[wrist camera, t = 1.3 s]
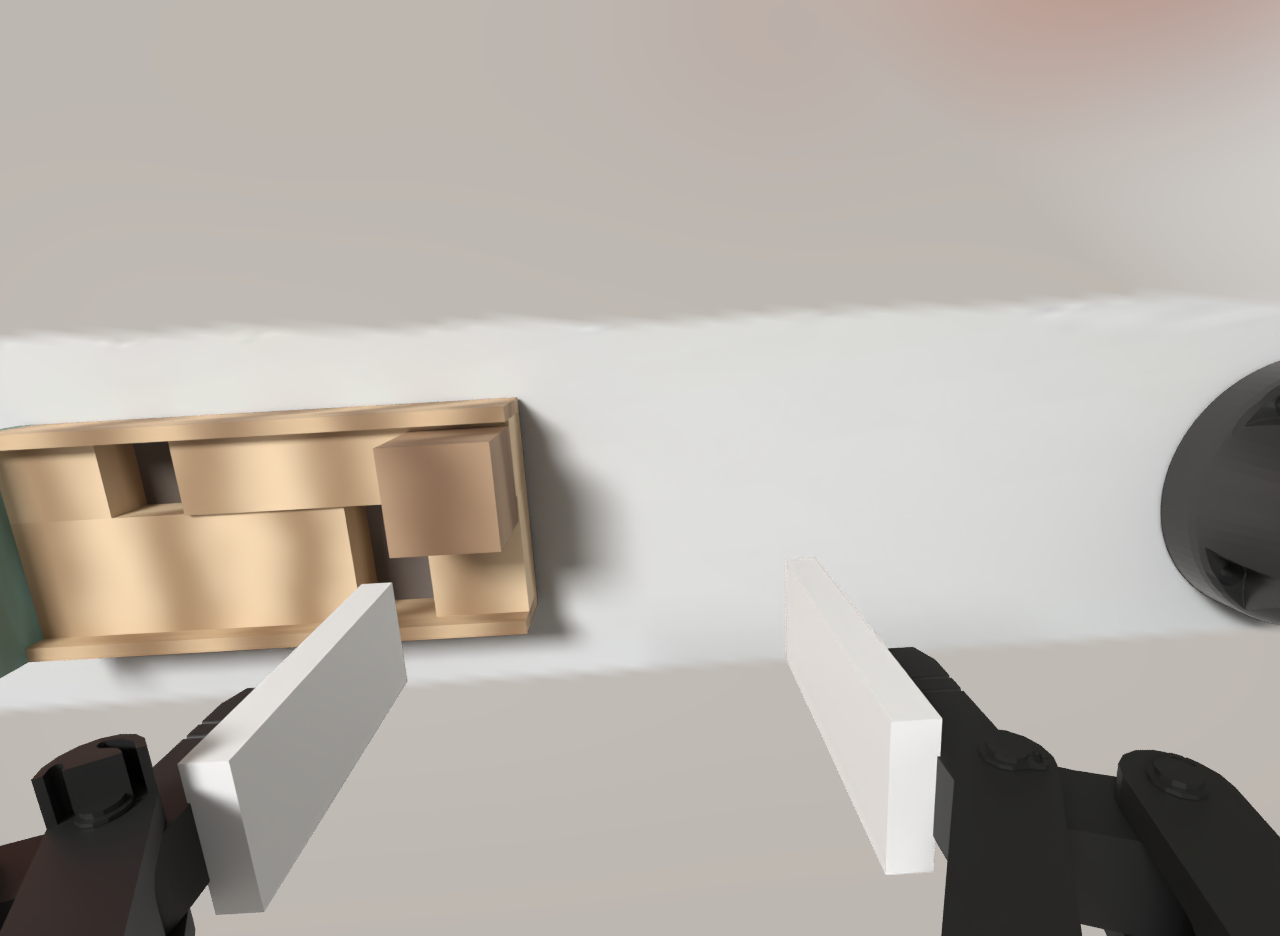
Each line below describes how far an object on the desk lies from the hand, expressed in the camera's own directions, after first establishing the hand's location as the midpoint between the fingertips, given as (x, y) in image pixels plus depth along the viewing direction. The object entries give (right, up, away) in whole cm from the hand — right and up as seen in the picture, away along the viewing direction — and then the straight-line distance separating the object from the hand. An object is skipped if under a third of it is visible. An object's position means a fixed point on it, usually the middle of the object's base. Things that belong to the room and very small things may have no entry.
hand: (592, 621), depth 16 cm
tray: (-19, +1, +20) cm, 27 cm away
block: (-8, +3, +16) cm, 18 cm away
